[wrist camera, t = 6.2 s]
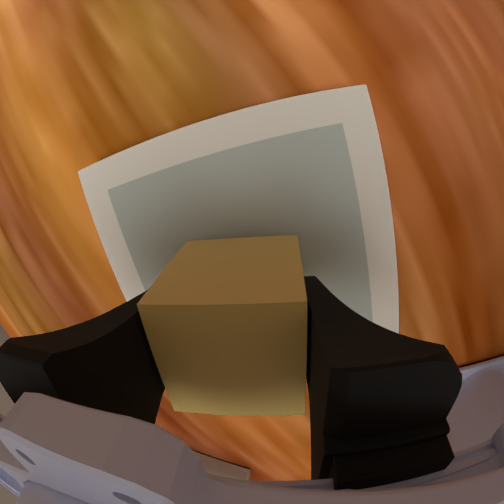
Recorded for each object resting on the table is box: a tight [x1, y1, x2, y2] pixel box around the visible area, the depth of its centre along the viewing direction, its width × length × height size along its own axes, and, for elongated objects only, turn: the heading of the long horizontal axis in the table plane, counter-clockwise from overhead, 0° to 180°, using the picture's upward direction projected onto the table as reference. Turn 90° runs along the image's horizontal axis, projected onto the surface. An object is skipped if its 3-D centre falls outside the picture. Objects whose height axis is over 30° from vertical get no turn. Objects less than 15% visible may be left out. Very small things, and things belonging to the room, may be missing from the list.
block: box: [137, 235, 307, 416], centre depth 11 cm, size 5×5×5 cm
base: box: [78, 84, 399, 334], centre depth 15 cm, size 14×14×2 cm
